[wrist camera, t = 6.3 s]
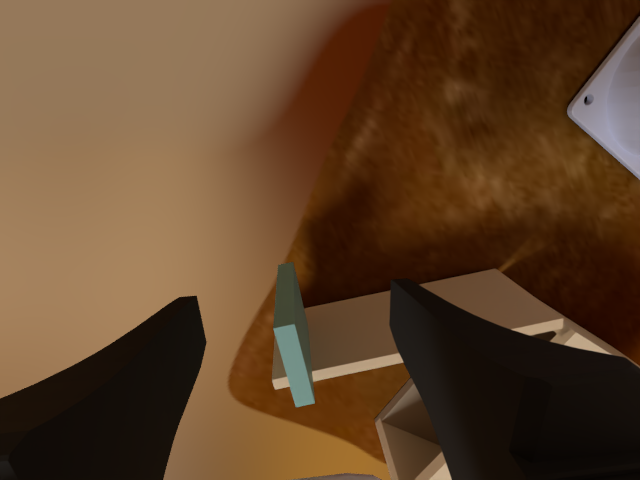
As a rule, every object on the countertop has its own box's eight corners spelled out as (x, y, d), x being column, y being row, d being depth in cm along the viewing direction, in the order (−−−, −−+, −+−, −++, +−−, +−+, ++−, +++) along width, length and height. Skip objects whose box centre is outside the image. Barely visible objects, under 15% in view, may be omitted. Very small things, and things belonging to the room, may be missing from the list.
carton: (499, 274, 21) (576, 332, 15) (612, 347, 24) (711, 416, 18) (374, 419, 24) (399, 509, 19) (487, 466, 28) (537, 555, 22)
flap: (496, 207, 19) (610, 257, 12) (495, 276, 21) (595, 354, 14) (260, 256, 19) (243, 334, 12) (278, 322, 20) (273, 423, 14)
